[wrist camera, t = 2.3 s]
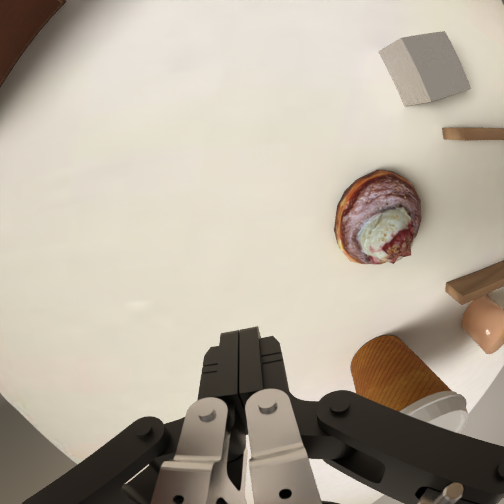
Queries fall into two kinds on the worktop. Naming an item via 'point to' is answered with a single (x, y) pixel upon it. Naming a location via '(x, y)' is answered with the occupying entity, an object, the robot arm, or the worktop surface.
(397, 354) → the disposable coffee cup
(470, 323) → the peach rounded blob
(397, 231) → the pastry
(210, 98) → the worktop surface
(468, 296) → the display bay
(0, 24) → the letter holder
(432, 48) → the gray block
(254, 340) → the robot arm
